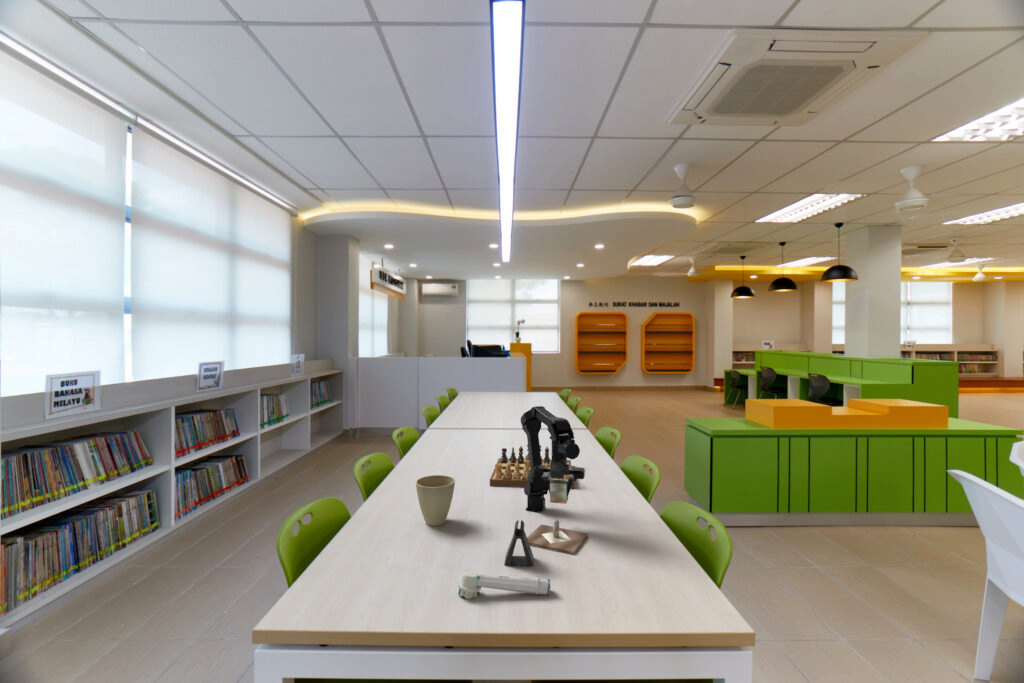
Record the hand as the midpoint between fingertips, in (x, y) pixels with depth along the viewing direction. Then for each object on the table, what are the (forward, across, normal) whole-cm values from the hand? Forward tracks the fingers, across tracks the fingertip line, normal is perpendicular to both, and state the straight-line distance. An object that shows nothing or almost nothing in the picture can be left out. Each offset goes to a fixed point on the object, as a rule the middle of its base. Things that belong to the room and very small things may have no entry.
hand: (559, 495), depth 172 cm
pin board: (+12, 0, -11) cm, 16 cm away
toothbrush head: (+13, -9, -48) cm, 51 cm away
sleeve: (+2, 0, 0) cm, 2 cm away
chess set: (+12, -22, +64) cm, 68 cm away
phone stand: (+13, -9, -29) cm, 33 cm away
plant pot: (+12, -47, -6) cm, 49 cm away
